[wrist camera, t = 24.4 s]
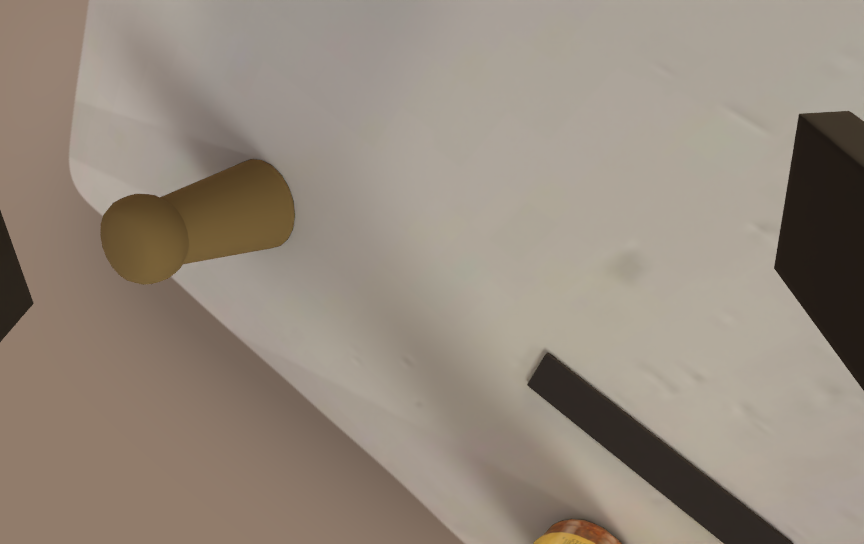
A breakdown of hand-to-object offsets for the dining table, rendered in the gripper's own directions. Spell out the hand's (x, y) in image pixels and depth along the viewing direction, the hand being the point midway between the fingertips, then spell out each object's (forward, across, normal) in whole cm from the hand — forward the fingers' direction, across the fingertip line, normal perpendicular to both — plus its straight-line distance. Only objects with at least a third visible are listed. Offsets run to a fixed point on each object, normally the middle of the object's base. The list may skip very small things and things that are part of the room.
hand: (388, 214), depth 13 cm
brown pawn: (+37, -12, -16) cm, 42 cm away
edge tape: (+20, +10, -24) cm, 33 cm away
